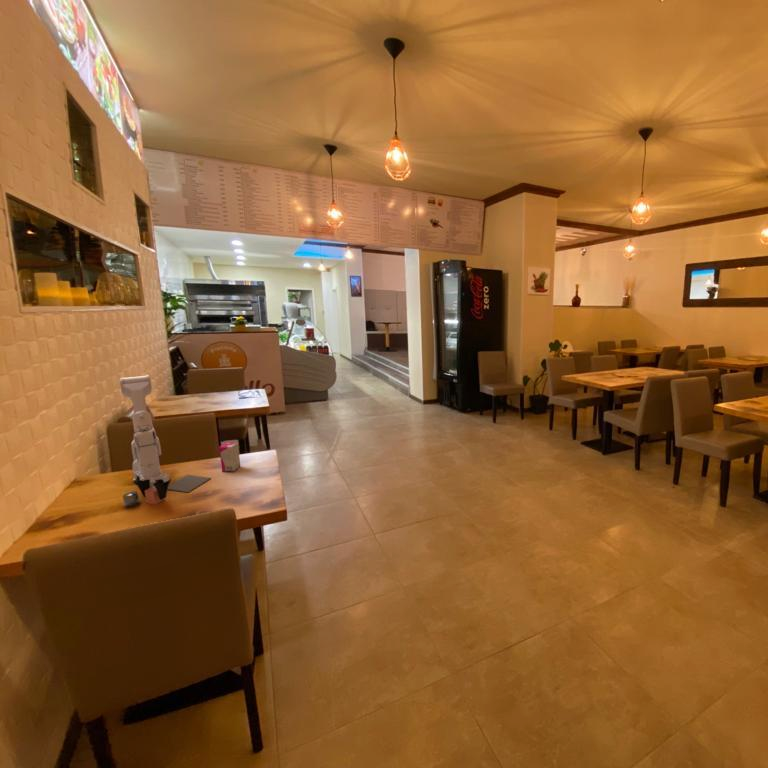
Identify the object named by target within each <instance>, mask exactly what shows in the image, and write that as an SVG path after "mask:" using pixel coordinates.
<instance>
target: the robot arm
mask: <svg viewBox="0 0 768 768" xmlns="http://www.w3.org/2000/svg"><path fill="white" fill-rule="evenodd" d="M119 384H120V385H119V386H120V390H121V395H122V396H123V397H124V398H128V399H130V400H131V402H132V406H133V413H134V414H133V415H132V425H133V431H134V434H133V439H132V441H131V444H130V445H131V453H132V458H133V462H132V471H133V477H134V478H133V479H132V481H133V483H134V484H135V485H136V487H138V489H139V490H140V492H141V494H142V496H143V498H146V497H145V490H147V489H149V488H150V479H154V480H155V481H156V483H154V484H153V485H154V486H155V488H156V489H157V492H158V496H159V499H160V500H162V499H164V500H165V498H167V493H168V490H167V488H168V485H170V484H171V481H172V479H171V478H170V477H171V476H170V474H168V473H164V472H163V471H161V465H160V459H159V458H160V457H159V456H161V455H162V447H161V441H160V439H159V437H158V436H157V432H156V430H155V427H154V426H153V419H152V414H151V413H150V412H148V411H147V404H146V398H147V396H148V395H151V394H152V390H153V387H152V386H153V385H152V380H151V376H150V375H148V374H146V375H140V376H131V377H130V376H129V377H120V378H119ZM162 501H163V500H162Z"/></svg>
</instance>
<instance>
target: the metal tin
mask: <svg viewBox="0 0 768 768" xmlns="http://www.w3.org/2000/svg"><path fill="white" fill-rule="evenodd" d="M122 499H123V505H124V507H125V508H133V507H135V506H138V505H139V504H140V499H139V493H138V491H137V490H135V491H134V490H133V491H129V492H126V493H124V494H123V495H122Z"/></svg>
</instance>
